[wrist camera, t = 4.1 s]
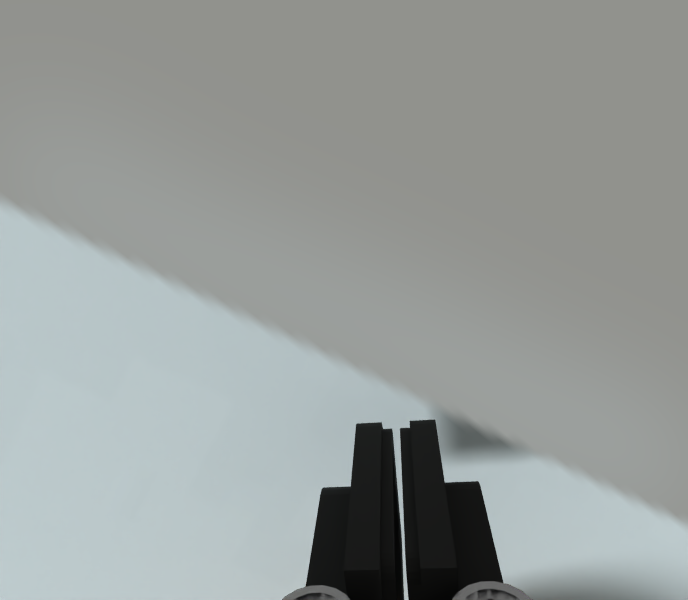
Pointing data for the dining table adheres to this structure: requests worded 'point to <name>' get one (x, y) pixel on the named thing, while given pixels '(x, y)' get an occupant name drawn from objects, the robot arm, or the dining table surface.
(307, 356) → the dining table surface
